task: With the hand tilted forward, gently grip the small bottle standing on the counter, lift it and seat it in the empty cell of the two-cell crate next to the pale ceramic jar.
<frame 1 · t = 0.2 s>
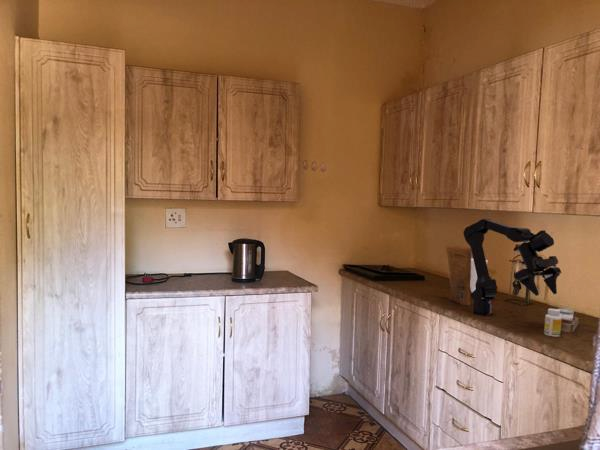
hand: (546, 294, 171), 15 cm above the worktop, tool tilted 30°, fingers open, 9 cm apart
crate: (562, 327, 181), on the worktop
jar: (564, 324, 184), point 1 cm above the worktop, touching crate
pancake mix bag: (457, 302, 223), on the worktop
supplement bottle: (552, 335, 170), on the worktop
cup: (475, 292, 251), on the worktop
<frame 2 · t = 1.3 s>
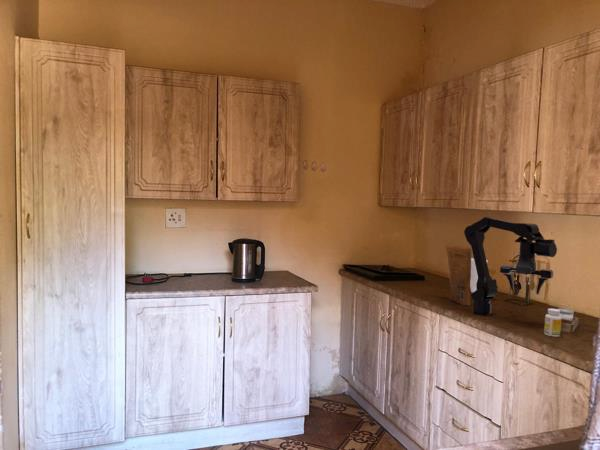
hand: (524, 292, 184), 13 cm above the worktop, tool pointing down, fingers open, 9 cm apart
nothing on the worktop moved.
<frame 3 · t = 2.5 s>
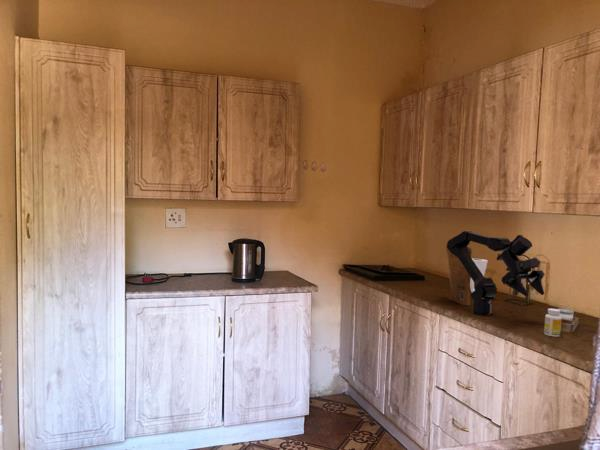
hand: (535, 295, 177), 13 cm above the worktop, tool tilted 45°, fingers open, 9 cm apart
nothing on the worktop moved.
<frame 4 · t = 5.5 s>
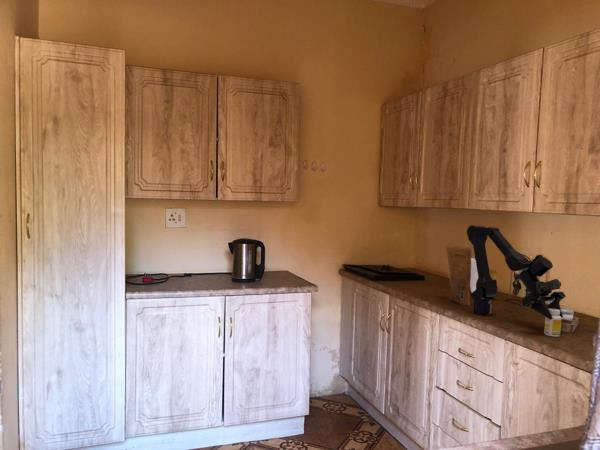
hand: (556, 318, 168), 7 cm above the worktop, tool tilted 45°, fingers closed on supplement bottle, 5 cm apart
supplement bottle: (552, 335, 170), on the worktop, touching gripper
everything else where it was.
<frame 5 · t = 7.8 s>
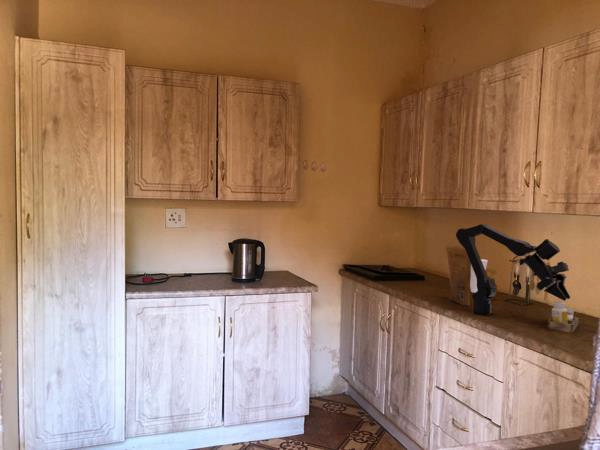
hand: (567, 299, 176), 12 cm above the worktop, tool tilted 45°, fingers open, 5 cm apart
supplement bottle: (560, 327, 178), point 1 cm above the worktop, touching crate
everything else where it was.
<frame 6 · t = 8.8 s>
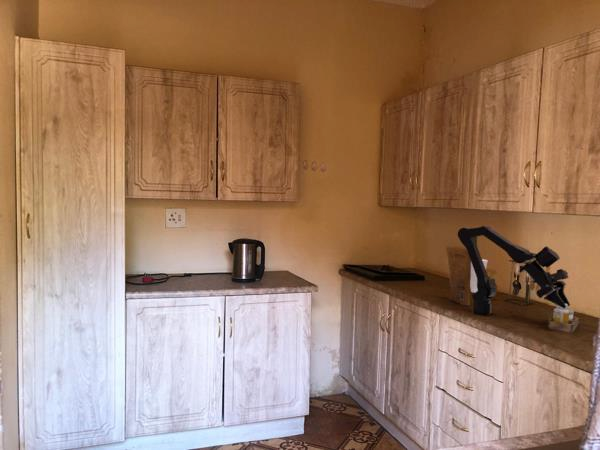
hand: (567, 306, 176), 9 cm above the worktop, tool tilted 45°, fingers open, 5 cm apart
supplement bottle: (560, 328, 178), resting on crate, touching gripper
everything else where it was.
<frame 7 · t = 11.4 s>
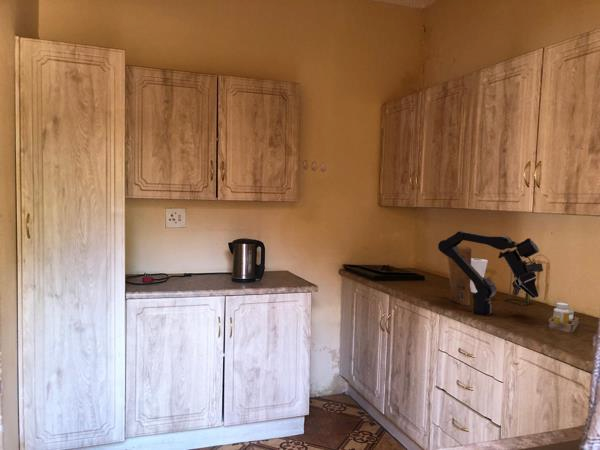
hand: (535, 297, 186), 11 cm above the worktop, tool tilted 35°, fingers open, 9 cm apart
supplement bottle: (560, 328, 178), resting on crate
everything else where it was.
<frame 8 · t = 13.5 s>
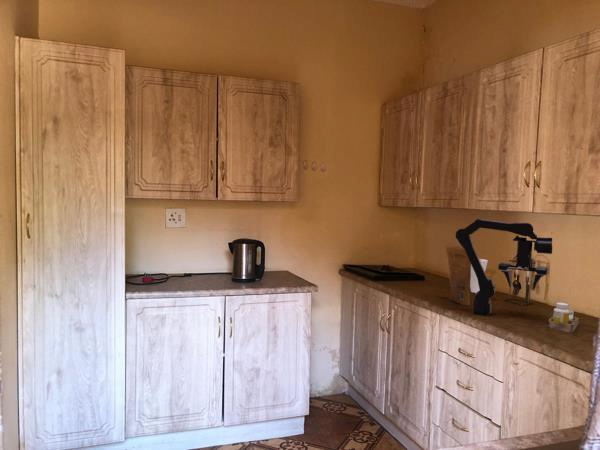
hand: (521, 288, 193), 13 cm above the worktop, tool pointing down, fingers open, 9 cm apart
nothing on the worktop moved.
at the end: supplement bottle 0.8 cm from the target spot on the crate, point 0.4 cm above the crate's base; supplement bottle tilted 0°; the gripper is holding nothing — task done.
